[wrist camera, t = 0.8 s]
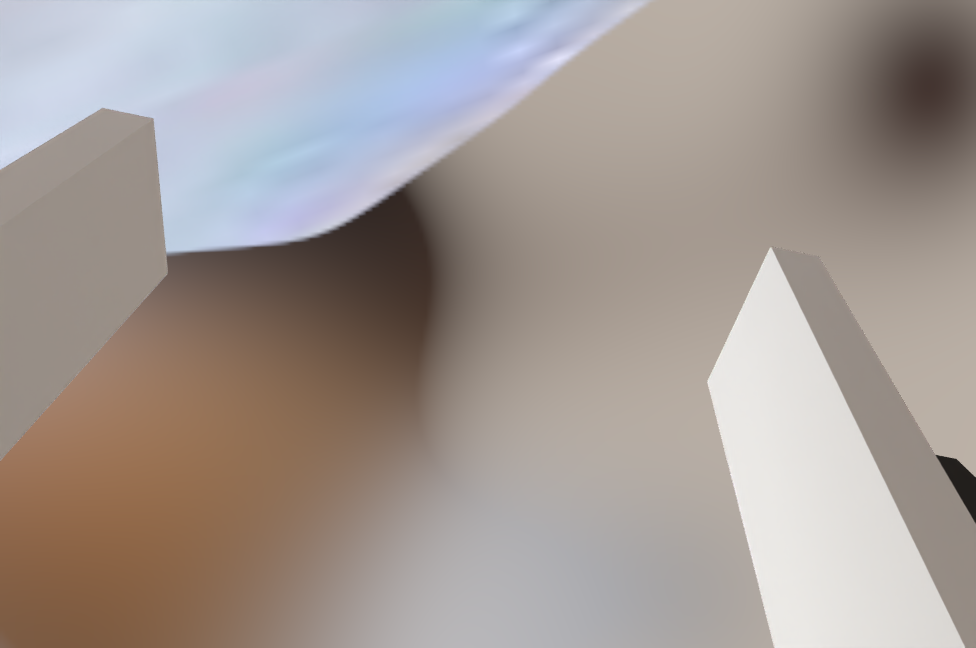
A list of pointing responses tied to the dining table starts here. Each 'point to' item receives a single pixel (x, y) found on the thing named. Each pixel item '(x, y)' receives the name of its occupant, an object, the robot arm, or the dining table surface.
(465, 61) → the dining table surface
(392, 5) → the dining table surface
